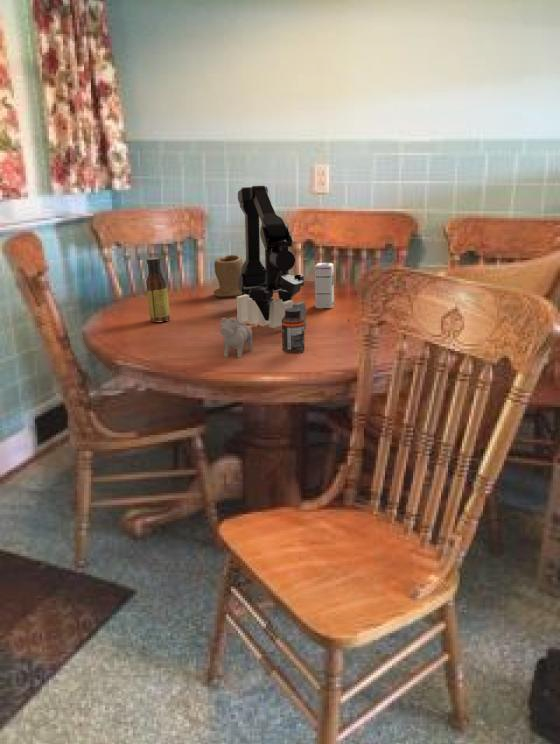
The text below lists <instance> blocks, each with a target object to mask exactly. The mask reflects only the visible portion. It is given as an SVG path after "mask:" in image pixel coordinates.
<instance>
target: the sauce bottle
mask: <svg viewBox="0 0 560 744" xmlns="http://www.w3.org/2000/svg"><path fill="white" fill-rule="evenodd" d="M146 264H147V268H148V276H147V277H146V281H145V283H146V294H147V296H146V297H147V305H148V312H149V318H150V321H151V320H152V321H167V320H169V319H170V314H171V312H170V304H169V296H168V288H167V287H168V286H167V283H166V281H165V278H164V276H163V273H162V269H161V258H160V257H148V258H147V259H146ZM152 321H151V322H152ZM169 321H170V320H169ZM167 322H168V321H167Z"/></svg>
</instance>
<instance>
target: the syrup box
mask: <svg viewBox="0 0 560 744" xmlns="http://www.w3.org/2000/svg"><path fill="white" fill-rule="evenodd" d="M334 267H335V265H334V263H333V262H317V263H316V264H315V265H314V297H315V298H314V302H315V305H314V306H315V308H316V309H323V308H332V309H333V307H334V306H335V274H334V273H335V271H334Z"/></svg>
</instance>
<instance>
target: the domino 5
mask: <svg viewBox="0 0 560 744" xmlns="http://www.w3.org/2000/svg"><path fill="white" fill-rule="evenodd" d="M292 304H295V303H294V300H292V299H291V300H288V301H285V302H282V303H281V326H280V329H281V330H282V318H283V317H284V316H285V309H287V308H293V306H292Z"/></svg>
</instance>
